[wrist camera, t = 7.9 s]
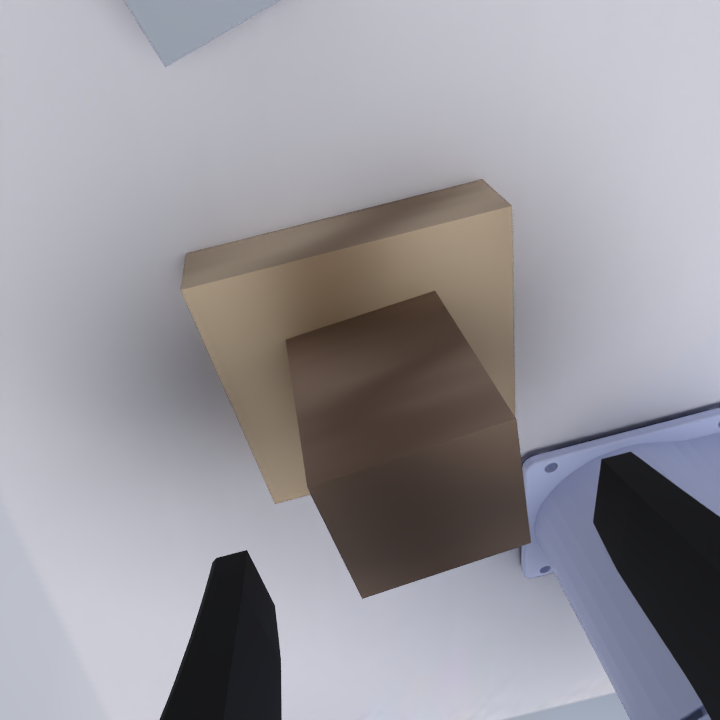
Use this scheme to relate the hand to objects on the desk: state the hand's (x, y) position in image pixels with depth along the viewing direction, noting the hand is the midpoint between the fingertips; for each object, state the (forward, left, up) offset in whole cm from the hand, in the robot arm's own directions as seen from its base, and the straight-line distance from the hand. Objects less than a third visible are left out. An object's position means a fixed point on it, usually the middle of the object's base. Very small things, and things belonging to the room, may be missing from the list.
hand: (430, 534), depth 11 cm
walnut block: (0, 0, -5) cm, 5 cm away
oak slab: (0, 0, -8) cm, 8 cm away
